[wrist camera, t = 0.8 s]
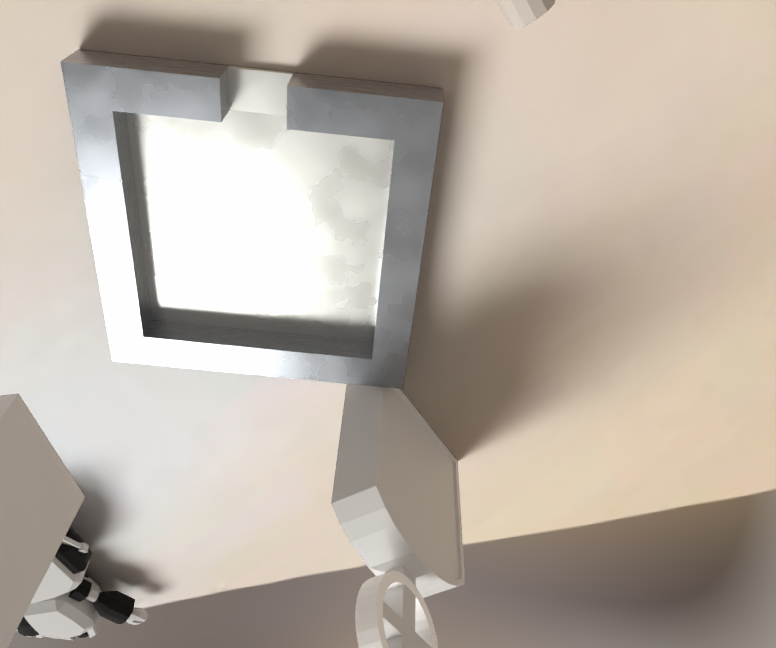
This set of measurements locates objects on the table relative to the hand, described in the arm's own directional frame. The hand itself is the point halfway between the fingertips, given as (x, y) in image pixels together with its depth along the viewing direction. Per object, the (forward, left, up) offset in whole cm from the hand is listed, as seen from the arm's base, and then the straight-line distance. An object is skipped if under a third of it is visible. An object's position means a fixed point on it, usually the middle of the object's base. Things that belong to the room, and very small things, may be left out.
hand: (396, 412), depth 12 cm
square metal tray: (-7, -10, -25) cm, 27 cm away
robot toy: (-24, -41, -25) cm, 54 cm away
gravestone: (+2, -24, -25) cm, 34 cm away
